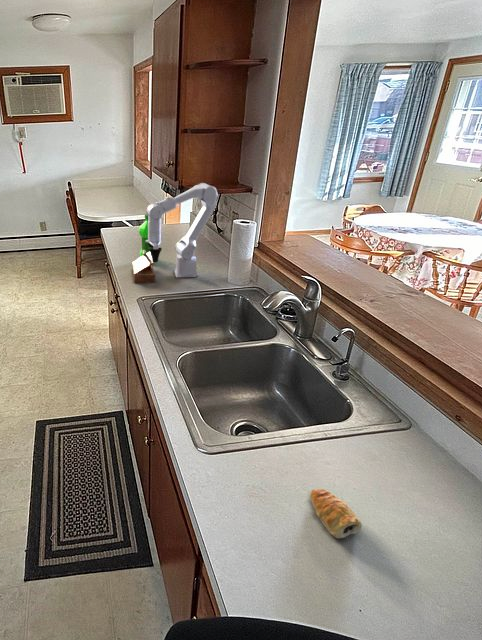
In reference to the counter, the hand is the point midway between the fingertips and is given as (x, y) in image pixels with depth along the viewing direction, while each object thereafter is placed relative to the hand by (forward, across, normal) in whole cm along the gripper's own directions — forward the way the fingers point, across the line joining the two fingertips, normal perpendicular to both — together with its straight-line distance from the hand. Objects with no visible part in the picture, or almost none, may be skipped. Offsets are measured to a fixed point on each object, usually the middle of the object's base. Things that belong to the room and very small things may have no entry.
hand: (154, 258), depth 183 cm
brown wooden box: (+10, -3, -5) cm, 11 cm away
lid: (+3, -3, -5) cm, 7 cm away
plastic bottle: (+10, -23, 0) cm, 25 cm away
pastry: (+10, +120, +24) cm, 123 cm away
